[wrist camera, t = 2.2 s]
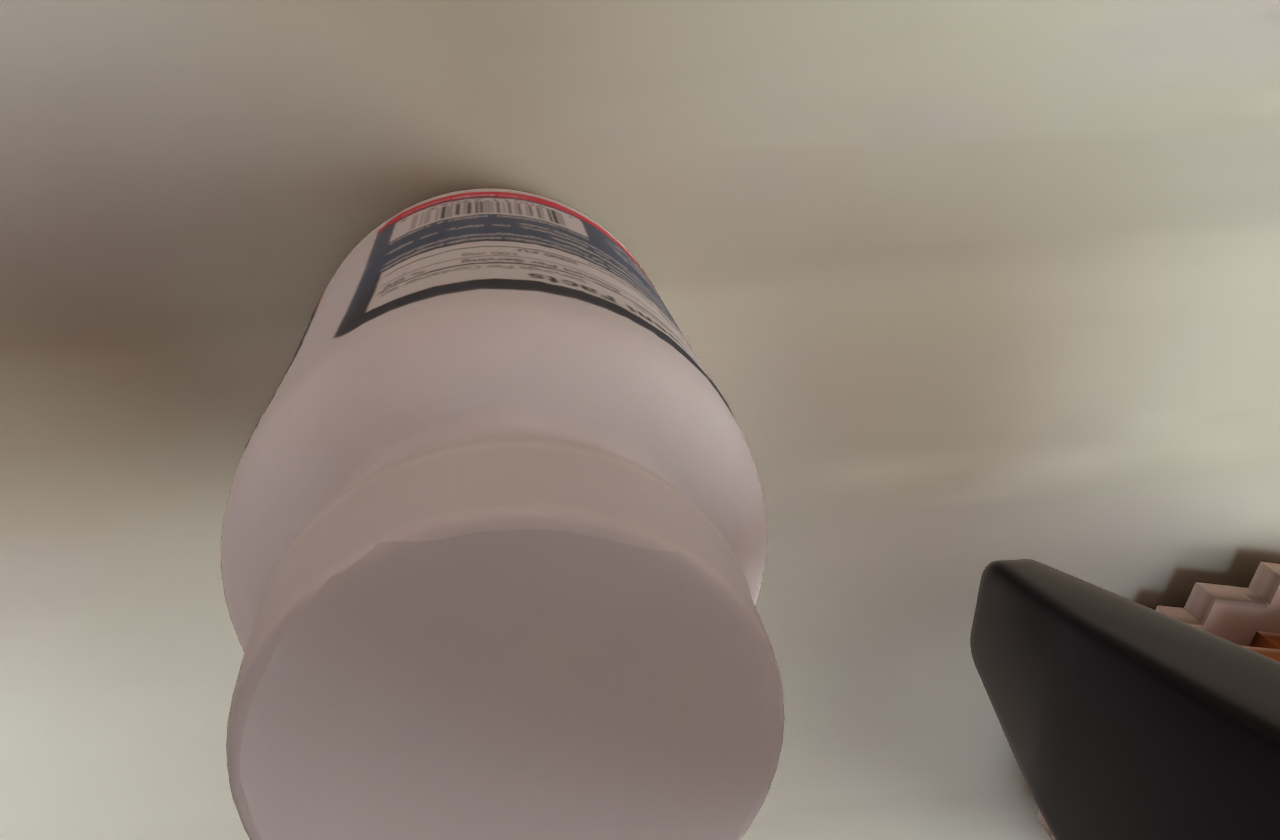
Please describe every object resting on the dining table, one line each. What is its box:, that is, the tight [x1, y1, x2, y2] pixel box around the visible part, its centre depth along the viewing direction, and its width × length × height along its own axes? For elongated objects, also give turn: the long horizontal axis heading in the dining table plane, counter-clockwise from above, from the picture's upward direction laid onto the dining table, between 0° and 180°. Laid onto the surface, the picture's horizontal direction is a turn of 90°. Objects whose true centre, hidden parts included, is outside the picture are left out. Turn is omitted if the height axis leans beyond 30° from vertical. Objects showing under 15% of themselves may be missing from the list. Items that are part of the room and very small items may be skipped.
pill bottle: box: [221, 188, 784, 840], centre depth 11 cm, size 5×5×9 cm
